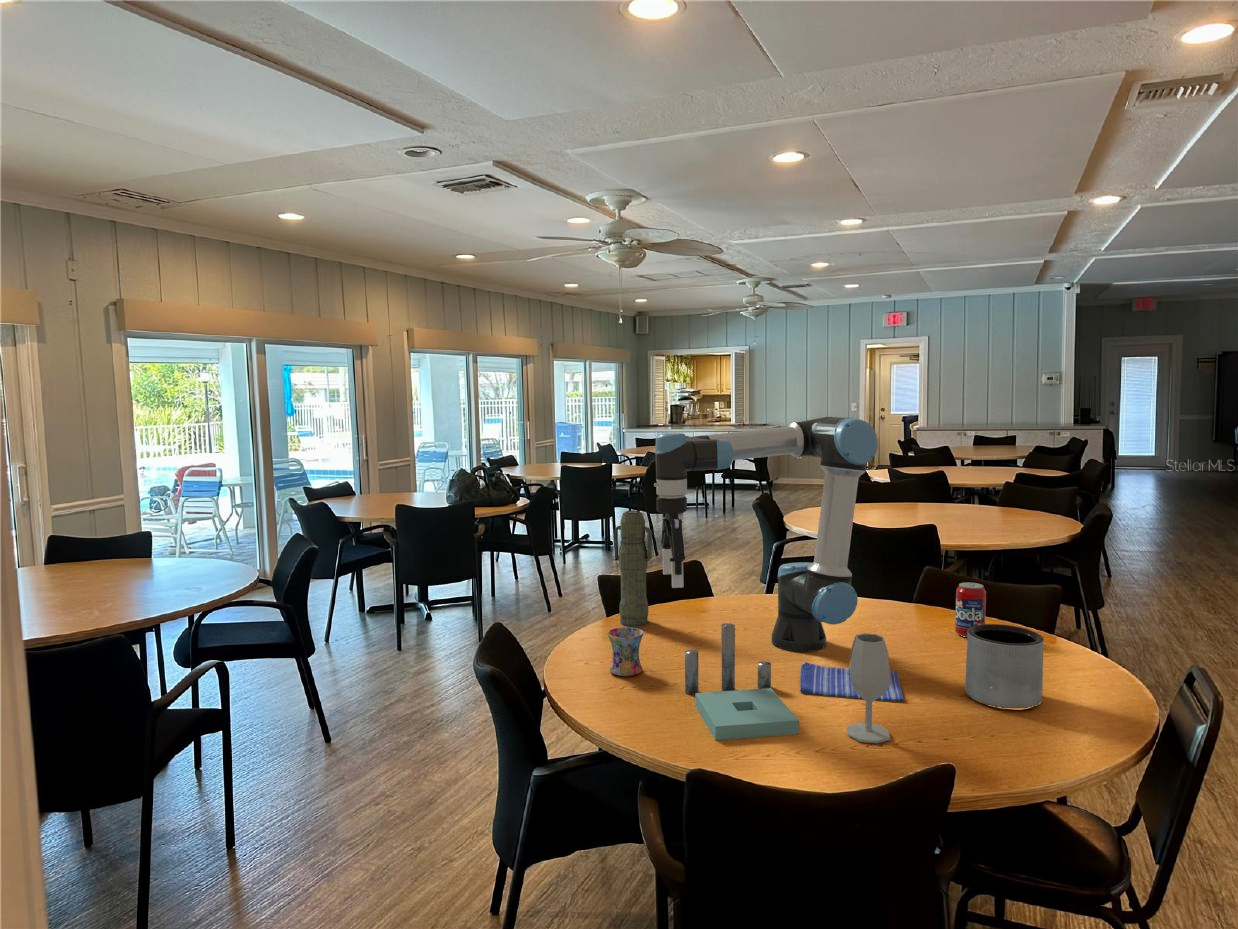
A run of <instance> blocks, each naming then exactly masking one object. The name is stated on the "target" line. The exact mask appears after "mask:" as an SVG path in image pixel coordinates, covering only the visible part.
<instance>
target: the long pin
mask: <svg viewBox="0 0 1238 929" xmlns="http://www.w3.org/2000/svg"><path fill="white" fill-rule="evenodd" d="M720 626H721V628H720V629H721V631H720V632H721V633H720V634H721V691H735V690H736V624H734V623H729V622H727V623H726V622H725V623H722V624H721V625H720Z"/></svg>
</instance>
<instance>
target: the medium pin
mask: <svg viewBox="0 0 1238 929" xmlns="http://www.w3.org/2000/svg"><path fill="white" fill-rule="evenodd" d="M699 688H700V686H699V650H697V649H686V650H685V651H684V694H686V695H690V696H693V695H694V696H695V693H700V691H699Z"/></svg>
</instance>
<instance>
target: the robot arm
mask: <svg viewBox="0 0 1238 929" xmlns="http://www.w3.org/2000/svg"><path fill="white" fill-rule="evenodd" d="M878 439H879V438H878V436H877V432H876V431H875V429H874V428H873V427H872V425H871V424H870V423H869V422H867V421H865V420H863V419H860V418H855V417H840V416H839V417H836V416H835V417H834V416H833V417H832V416H824V417H823V416H822V417H817V418H813V419H808V420H802V421H796V422H794V421H793V422H790V423H789V424H788V425H787V426H784V427H783V426H781V427H773V428H764V429H762V428H761V429H754V430H743V431H735V432H734V431H732V432H725V433H724V432H723V433H713V434H705V435H695V436H693V435H692V436H689V435H686V434H685V433H684V432H683V433H682V432H664V433H659V434H657V436H656V437H655V446H654V447H655V451H654V454H655V479H656V482H654V484H653V487H656V495H657V497H656V500H655V501H656V503H655V504H656V512H657V513H660V514H662V526H661V537H660V538H661V539H660V545H661V547H662V574H663V575H671V588H672V589H676V588H677V589H678V588H684V561H685V560H686V556H685V555H686V553H685V546H684V544H685V543H684V536H683V535H684V533H683V519H682V518H679V514H683V513H686V511H687V510H688V497H687V496H686V495H687V494H688V478H687V477H688V475H687V472H692V471H693V472H694V471H711V470H715V471H719V470H724V469H725V470H726V469H729V468H730V467H732V463H733V462H734V461H740V460H749V459H756V458H766V457H775V456H776V457H777V456H785V455H791V456H792V457H793V458H799V457H800V458H801V457H810V458H818V459H820V462H819V463H820V465H819V466H820V469H822V471H823V472H824V479H823V480H824V481H823V488H822V495H821V496H822V497H821V505H820V511H819V512H820V513H819V519H818V520H819V521H818V529H817V536H816V541H815V542H816V544H815V550H814V551H815V552H814V558H813V562H806V561H805V562H789V563H783V564H781V565H780V566H779V568H778V572H777V618H776V621H775V624H774V627H773V629H772V632H771V644H773V645H774V646H775V647H777V648H780V649H783V650H785V651H792V652H814V651H820V650H823V649H824V648H826V646H827V635H826V633H825V629H824V626H823V623H825V624H828V625H831V626H832V625H835V626H836V625H841V624H843V623H845V622H846V621H847V620H848V619H850V618H851V617H852V616H853V615H854V613H855V611H856V608H857V606H858V602H859V601H858V600H859V599H858V594H857V592H856V590H855V588H854V587H853V586H852V578H853V574H852V572H851V571H850V569H849V568H848V563H849V562H848V561H849V555H850V548H851V541H852V531H853V524H854V523H853V522H854V517H855V516H854V515H855V510H856V509H855V508H856V500H857V493H858V486H859V478H860V477H861V476H862V475H863V474H865V473H866V470H867V464H868V463H869V462H871V461H872V459H873V458H874V457H875V456H876V454H877V451H878V447H879V440H878Z"/></svg>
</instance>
